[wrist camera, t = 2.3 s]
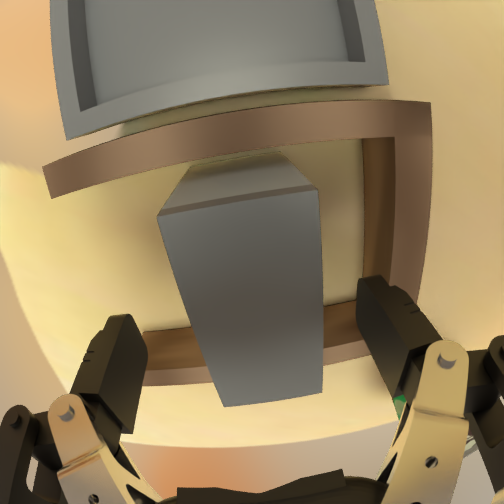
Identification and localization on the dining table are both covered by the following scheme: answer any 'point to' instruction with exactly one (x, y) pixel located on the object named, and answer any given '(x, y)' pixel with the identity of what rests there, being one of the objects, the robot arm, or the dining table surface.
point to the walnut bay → (279, 134)
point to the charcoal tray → (203, 53)
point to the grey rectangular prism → (250, 275)
